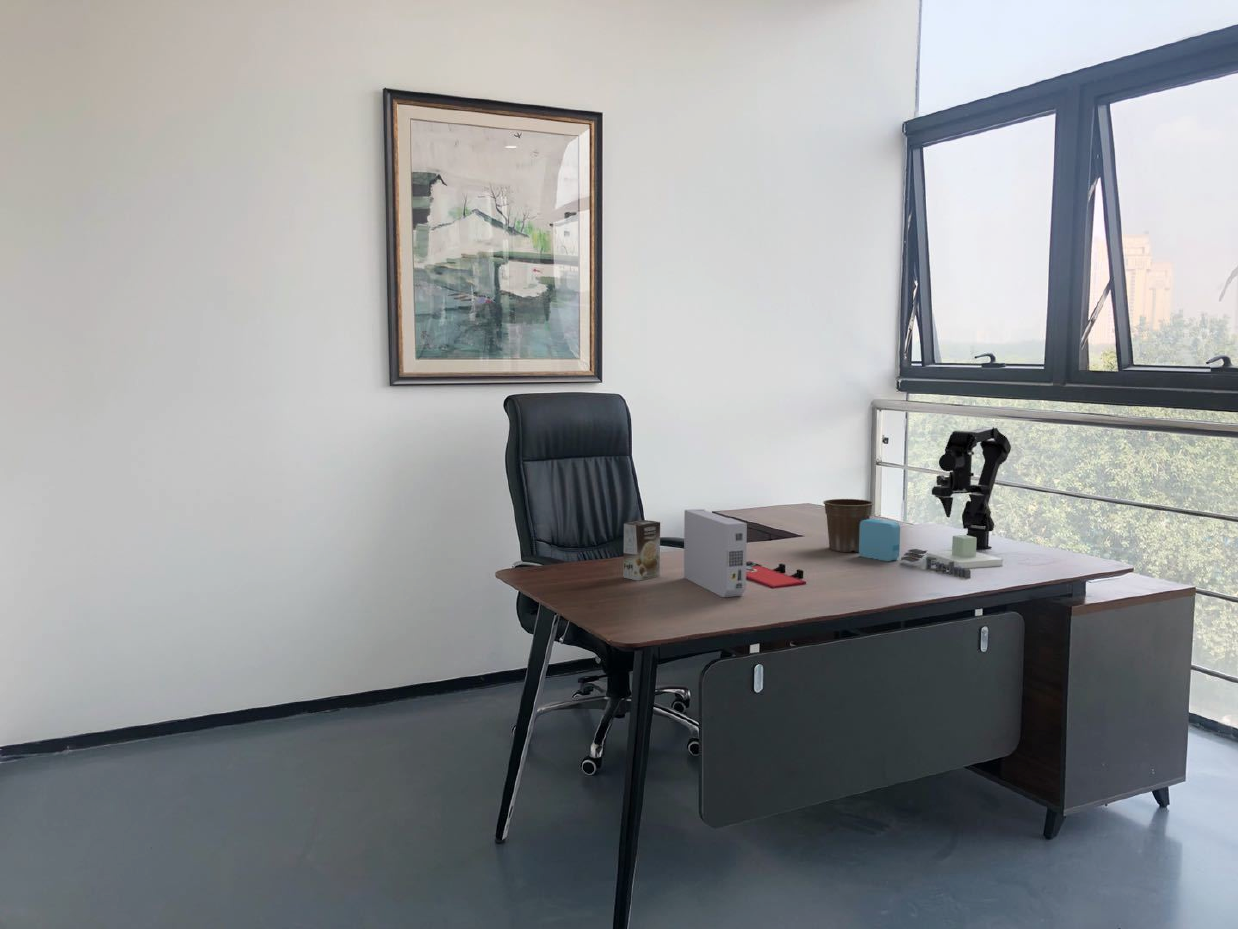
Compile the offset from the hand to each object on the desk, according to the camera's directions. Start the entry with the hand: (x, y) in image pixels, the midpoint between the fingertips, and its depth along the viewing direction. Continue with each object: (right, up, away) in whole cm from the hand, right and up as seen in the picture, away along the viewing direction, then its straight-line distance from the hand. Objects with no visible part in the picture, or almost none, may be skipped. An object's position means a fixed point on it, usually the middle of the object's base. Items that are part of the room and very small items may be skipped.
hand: (960, 516), depth 302 cm
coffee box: (-105, -16, -35) cm, 112 cm away
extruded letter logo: (-17, -15, -25) cm, 34 cm away
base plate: (-4, -13, -13) cm, 19 cm away
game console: (-85, -17, -47) cm, 99 cm away
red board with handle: (-69, -16, -32) cm, 78 cm away
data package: (-29, -13, -7) cm, 32 cm away
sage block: (-4, -11, -14) cm, 18 cm away
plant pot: (-35, -12, +7) cm, 38 cm away
